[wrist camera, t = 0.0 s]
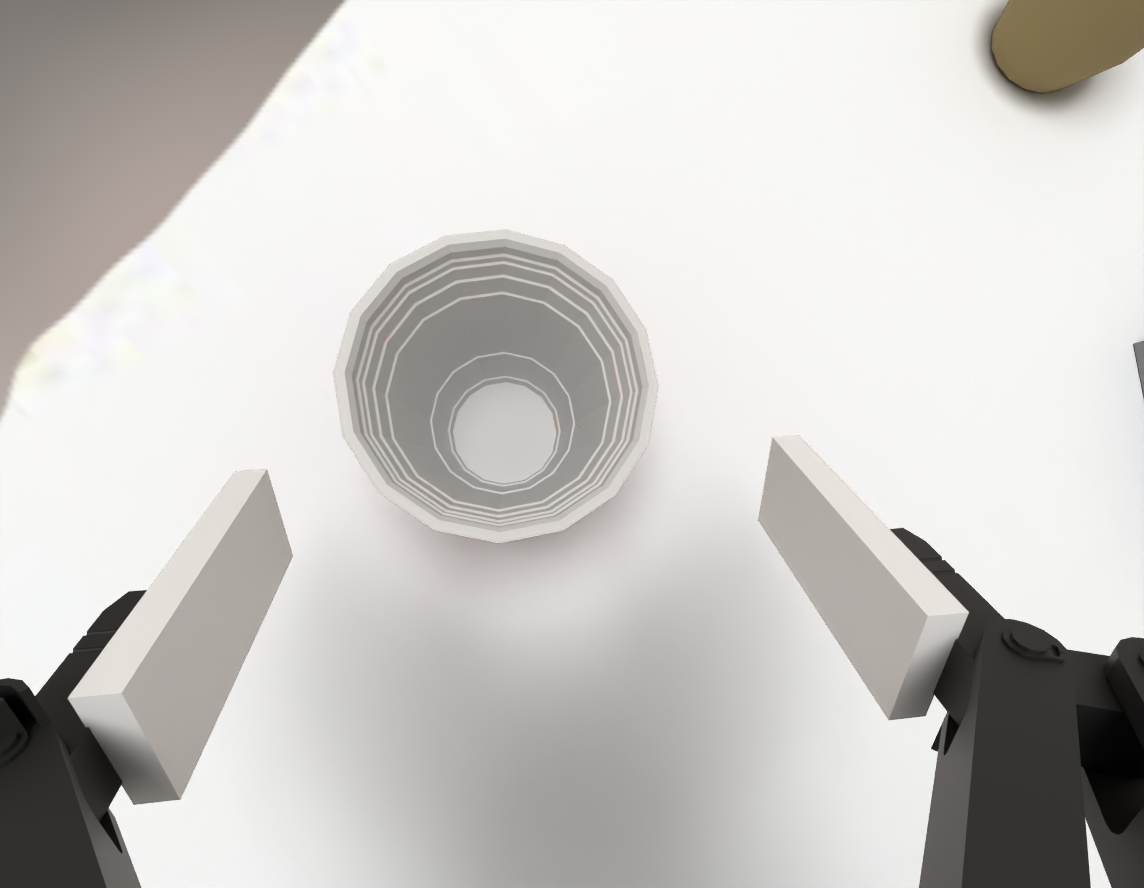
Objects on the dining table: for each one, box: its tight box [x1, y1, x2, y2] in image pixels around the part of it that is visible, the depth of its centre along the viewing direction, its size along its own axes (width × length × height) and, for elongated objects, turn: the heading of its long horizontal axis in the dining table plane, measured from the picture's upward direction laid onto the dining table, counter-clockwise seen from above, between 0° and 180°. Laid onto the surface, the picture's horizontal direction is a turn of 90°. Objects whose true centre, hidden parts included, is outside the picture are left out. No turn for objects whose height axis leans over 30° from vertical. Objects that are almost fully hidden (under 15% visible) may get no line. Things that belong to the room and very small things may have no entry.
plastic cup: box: [333, 230, 658, 543], centre depth 25 cm, size 11×11×12 cm
